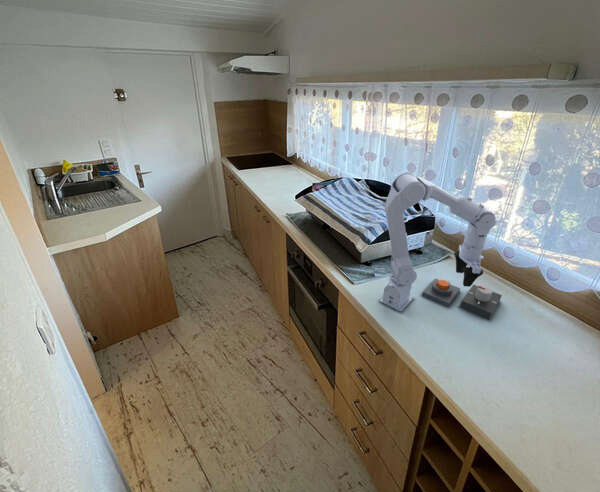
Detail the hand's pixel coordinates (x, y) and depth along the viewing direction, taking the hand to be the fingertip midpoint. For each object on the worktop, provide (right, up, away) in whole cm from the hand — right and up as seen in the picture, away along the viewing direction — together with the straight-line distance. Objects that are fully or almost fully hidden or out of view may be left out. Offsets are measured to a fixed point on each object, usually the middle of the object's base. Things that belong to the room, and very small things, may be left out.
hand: (463, 278), depth 103 cm
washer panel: (+6, -9, +1) cm, 11 cm away
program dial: (+6, -6, 0) cm, 9 cm away
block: (-5, -6, +6) cm, 10 cm away
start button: (-5, -3, +5) cm, 8 cm away
